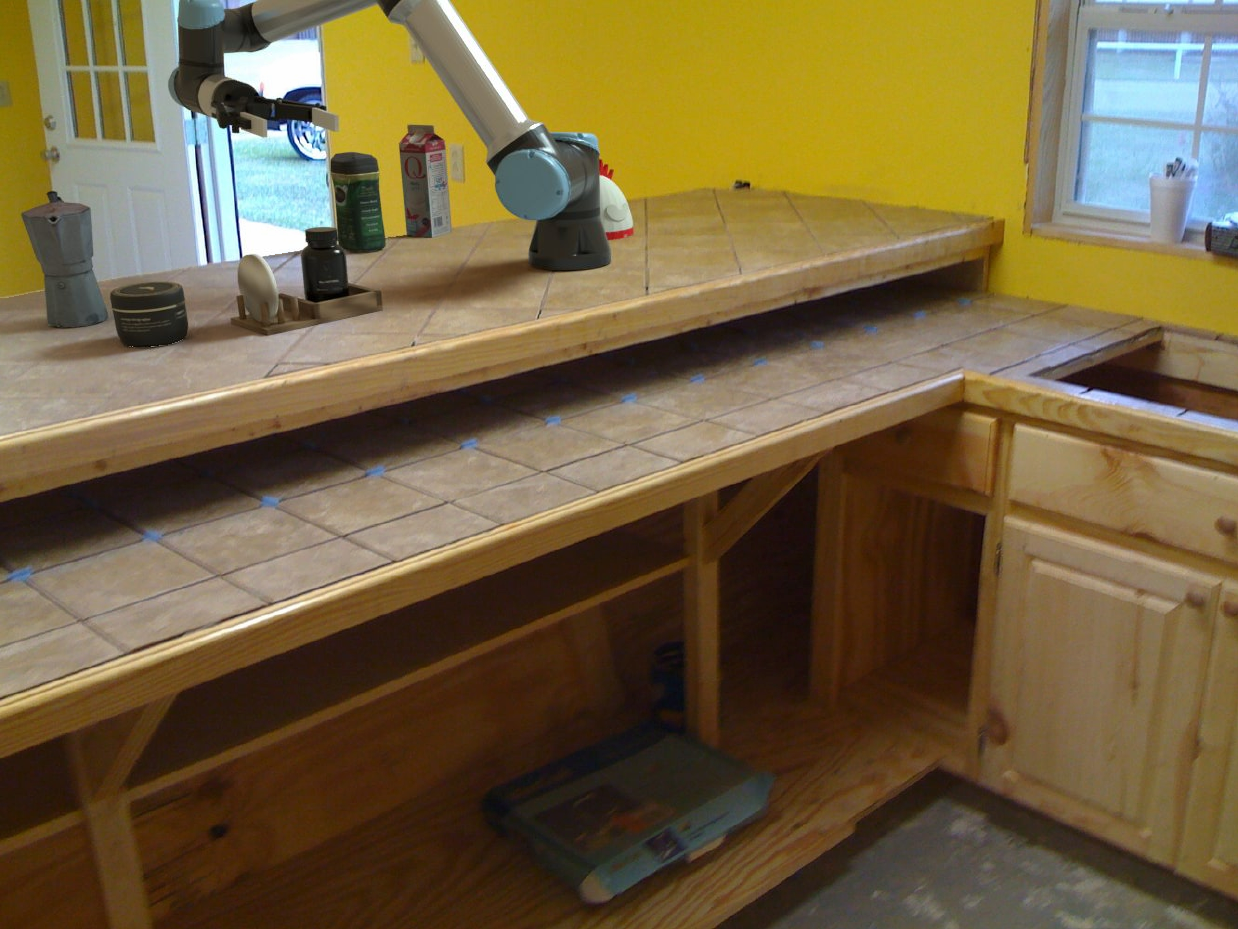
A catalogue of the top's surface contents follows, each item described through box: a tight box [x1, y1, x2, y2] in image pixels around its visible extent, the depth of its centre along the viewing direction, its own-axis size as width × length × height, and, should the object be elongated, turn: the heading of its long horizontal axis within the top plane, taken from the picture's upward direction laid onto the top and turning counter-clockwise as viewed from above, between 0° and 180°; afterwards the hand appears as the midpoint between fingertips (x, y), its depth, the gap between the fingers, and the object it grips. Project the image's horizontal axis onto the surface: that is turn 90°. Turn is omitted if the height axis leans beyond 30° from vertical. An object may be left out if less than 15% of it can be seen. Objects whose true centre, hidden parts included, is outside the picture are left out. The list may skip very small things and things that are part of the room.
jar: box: [109, 281, 189, 348], centre depth 171 cm, size 10×10×8 cm
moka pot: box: [20, 190, 109, 328], centre depth 181 cm, size 10×15×20 cm, turn 23°
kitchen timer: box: [599, 158, 634, 241], centre depth 241 cm, size 14×14×15 cm
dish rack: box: [230, 253, 384, 336], centre depth 182 cm, size 20×11×11 cm, turn 135°
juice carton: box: [398, 124, 453, 239], centre depth 244 cm, size 7×7×22 cm
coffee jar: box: [330, 151, 387, 253], centre depth 231 cm, size 10×8×19 cm
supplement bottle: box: [300, 226, 349, 303], centre depth 184 cm, size 7×7×12 cm
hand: (302, 126), depth 194 cm, fingers open, 13 cm apart
